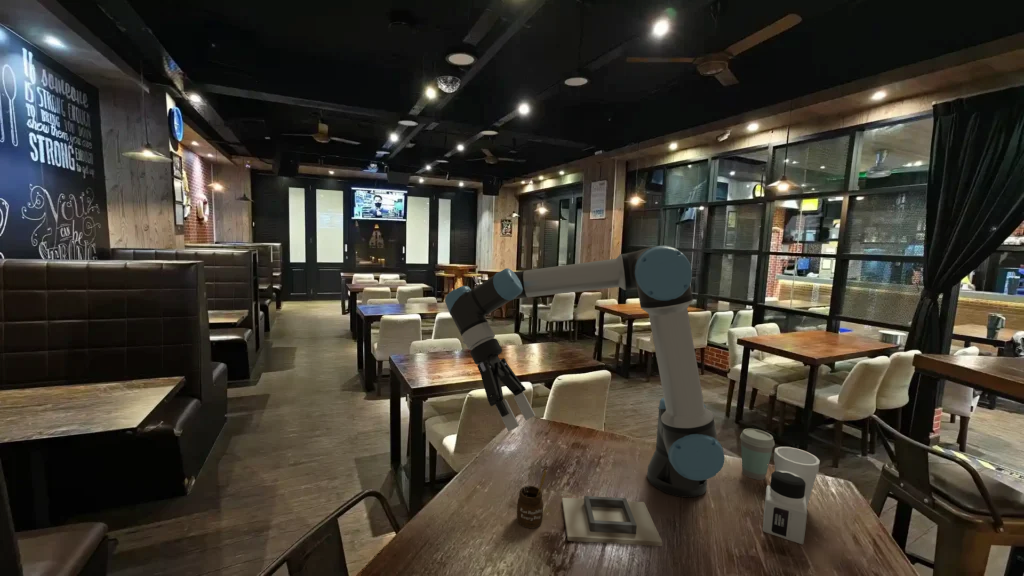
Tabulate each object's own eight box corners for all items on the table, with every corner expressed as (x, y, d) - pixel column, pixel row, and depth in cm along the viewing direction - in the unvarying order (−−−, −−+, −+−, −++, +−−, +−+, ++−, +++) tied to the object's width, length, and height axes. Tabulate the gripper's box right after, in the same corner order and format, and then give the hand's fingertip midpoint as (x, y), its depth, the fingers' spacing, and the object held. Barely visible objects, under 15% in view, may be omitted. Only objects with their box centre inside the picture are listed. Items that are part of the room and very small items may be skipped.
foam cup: (809, 500, 110) (815, 452, 109) (817, 520, 102) (824, 469, 100) (767, 490, 114) (772, 443, 113) (771, 509, 106) (777, 459, 104)
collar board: (643, 505, 105) (644, 494, 105) (661, 546, 91) (662, 532, 91) (562, 501, 105) (562, 490, 105) (567, 540, 92) (568, 527, 91)
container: (803, 545, 93) (810, 489, 91) (762, 532, 97) (768, 477, 95) (802, 526, 99) (808, 473, 98) (763, 514, 103) (769, 463, 102)
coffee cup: (776, 484, 117) (780, 442, 116) (742, 480, 118) (746, 438, 117) (764, 468, 125) (768, 429, 124) (732, 464, 127) (736, 426, 126)
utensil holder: (514, 513, 100) (516, 464, 99) (541, 512, 101) (543, 463, 100) (518, 529, 94) (520, 478, 93) (546, 528, 95) (548, 477, 94)
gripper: (488, 350, 120) (524, 420, 114) (448, 353, 96) (491, 442, 91) (510, 337, 118) (548, 407, 113) (475, 336, 94) (520, 426, 89)
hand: (522, 423), depth 102 cm, fingers open, 13 cm apart
